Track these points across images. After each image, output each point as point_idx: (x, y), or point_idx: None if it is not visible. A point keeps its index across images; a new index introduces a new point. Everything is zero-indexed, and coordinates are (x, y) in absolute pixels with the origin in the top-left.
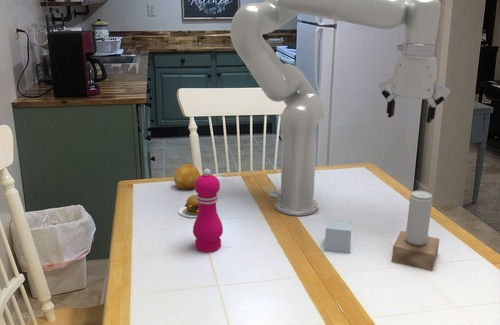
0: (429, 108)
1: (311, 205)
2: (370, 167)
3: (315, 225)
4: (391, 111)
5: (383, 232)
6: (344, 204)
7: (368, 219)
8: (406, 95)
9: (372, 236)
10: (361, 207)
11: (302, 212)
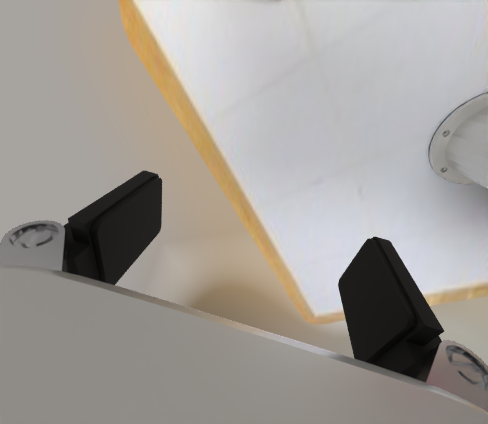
0: (89, 215)
1: (456, 132)
2: (305, 315)
3: (458, 49)
4: (382, 262)
5: (307, 64)
6: (368, 179)
7: (330, 121)
8: (305, 363)
9: (332, 32)
10: (337, 173)
11: (486, 95)
